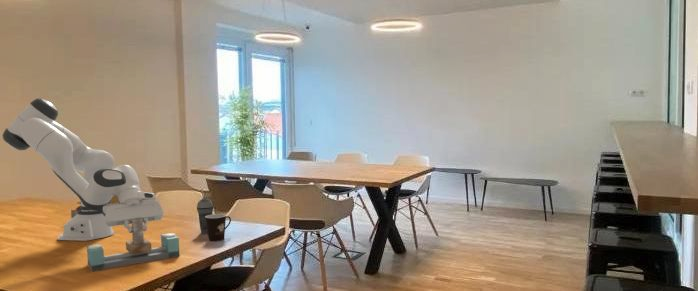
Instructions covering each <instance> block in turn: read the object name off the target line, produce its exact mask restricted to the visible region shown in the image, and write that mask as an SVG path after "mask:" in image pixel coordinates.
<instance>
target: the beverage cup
mask: <svg viewBox="0 0 698 291" xmlns="http://www.w3.org/2000/svg"><path fill="white" fill-rule="evenodd" d="M200 189H201V196H202V198H200V200H199V201H198V202H197V205H196V211H197V213H198V214H197V215H198V220H199V221H198V222H199V228H200V234H202V235H208V231H207V225H206V219H205V216H208V215H213V210H214V204H213V202H212V200H211V199H209V198H205V197H204V192H203V188H200Z"/></svg>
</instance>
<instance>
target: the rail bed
mask: <svg viewBox="0 0 698 291" xmlns="http://www.w3.org/2000/svg"><path fill="white" fill-rule="evenodd" d="M179 239H180V238H179V237H178V236H177V235H176V233H172V232H169V233H162V234H160V244H161V246H159V247H151V250H152V251H150V252H144V253H138V254H132V255H131V254H130V253H129V252H128V251H127V252H120V253H115V254H109V255H105V251H104V248H103V246H102V245H103V244H99V243H96V244H90V245H86V253H87V255H86V256H87V266H88V265H89V266H88V267H89V269H90V271H91V270H92V271H91V272H97V271H102V269H103V270H106V269H107V270H108V268H109V269H114V268H113V267H115V268H119V267H118V266H120V267H124V266H125V265H126V266H131V265H136V263H137V264H141V263H142V262H143V263H146V262H152V261H153V262H154V261H158V260H164V259H165V260H166V259H169V258H175V257H176V258H177V257H180V256H181V255H180V254H181V253H180V240H179ZM143 263H142V264H143ZM130 264H131V265H130ZM126 266H125V267H126Z"/></svg>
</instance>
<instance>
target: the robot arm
mask: <svg viewBox="0 0 698 291" xmlns="http://www.w3.org/2000/svg"><path fill="white" fill-rule="evenodd" d="M58 115H59V111H58V109H57V107H56V106H55V104H53V103H52V102H51V101H48V100H47V99H43V98H40V97H39V98H35V99H34V100H32V101H30V102H29V104H28V105H27V106H26V107H25V108H24V109H23V110H21V111H19V113H18V114H17V116H16V117H15V118H14V119H13V120H12V121H11V123H10V125H9V126H8V127H7V128H5V130H4V131H3V133H2V139H3V140H4V142H5V144H6V145H7V146H9V147H10V148H12V149H15V150H18V151H26V150H27V149H30V148H32V150H34V151H35V152H36V153H38V154H39V155H40V156H41V157H42V158H43V159H44V160H45V161H46V162H47V164H48V165H49V166H50V168H51V170H52V171H53V173H54V175H55V176H56V177H58V179H60V180H61V181H62V183H63V184H65V185H66V186H67V187H68V188H69V189H70V190H71V192H73V193H74V194H75V195H76V196H77V197H78V199H79V200H80V205H79V206H77V207H75V209H74V210H75V211H77V215H76V216H74V217H73V218H72V219H69V220H68V221H66V223H65V224H64V225H63V229H62V230H63V231H62V233H61V234H60V235H58V236H57V241H80V242H81V241H82V242H85V241H86V242H87V241H88V242H89V241H91V240H96V239H101V238H107V237H110V236H112V235H114V234H115V232H114V229H113V227H116V226H124V228H125V229H127V231H128V233H129V234H132V233H133V231H134V229H133V226H132V220H133V219H140V218H141V219H142V220H143V232H146V231H147V230H148V226H147V225H148V224H149V222H153V221H154V222H155V221H161V220H162V219H163V216H164V210H163V207H162V205H161V203H160V201H159V200H158V199H157V195H156V194H155V193H152V192H145V191H142V189H141V188H140V186H141V182H140V180H139V176H138V174H137V171H136V170H135V168H134V167H132V166H131V165H128V164H120V165H117V166H116V167H115V158H114V155H112V154H111V153H110V152H108V151H105V150H103V149H94V148H92V147H90V146H87V145H86V144H85V143H84V142H83V141H82V140H81V138H80V137H79V136H78V135H76V134H75V133H74V132H72V131H71V130H69V129H68V128H66V127H65V126H63V125H62V124H60V123H58V122H57V121H56V120H57V117H58ZM79 173H82V174H83V176H82V175H81V174H79ZM114 196H116V197H117V202H113V203H111V202H112V198H113V197H114Z"/></svg>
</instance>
